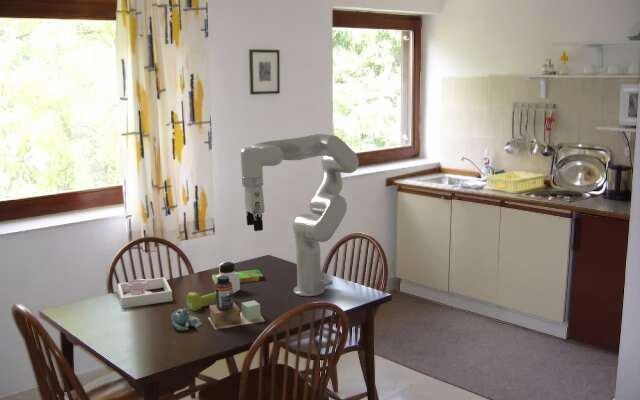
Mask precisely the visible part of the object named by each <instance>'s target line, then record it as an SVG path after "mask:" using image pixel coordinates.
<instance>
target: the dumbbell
mask: <svg viewBox="0 0 640 400" xmlns="http://www.w3.org/2000/svg"><path fill="white" fill-rule="evenodd" d="M185 301H186V305H187V309H188V310H189V311H190V310H191V311H194V312H196V311H197V312H198V311H200V310H202V307H203V305H204V304H208V303H213V302H216V292H215V291H214V292H213V293H211V292H210V293H208V294H205V295H202V296H201V295H200V294H199V293H197V292H195V291H193V292H189V293H187V296H186V299H185Z"/></svg>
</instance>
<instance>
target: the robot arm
mask: <svg viewBox="0 0 640 400" xmlns="http://www.w3.org/2000/svg"><path fill="white" fill-rule="evenodd" d="M316 157H321V167H322V170H323V177H322V181H321V183H320V184H319V186H318V188H317V189H316V191H315V192H314V195H313V196H312V198H311V200H310V202H309V203H308V204H309V205H308V207H309V211H310V212H311V214H310V213H302V214H301V213H300V214H298V215H297V216H296V217H295V218H294V220H293V222H292V232H293V235H294V239H295V251H296V279H297V280H296V281H297V285H296V286H294V287H293V293H294V294H295V295H297V296H302V297H314V296H320V295H322V294H324V293H325V292H326V286H333V280H332V279H329V280H328V279H327V278H326V279H322V271H321V269H322V267H321V246H320V243H326V242H328V241H329V240H331V238H332V237H333V236H334V234H335V233H336V231H337V229H338V227H339V226H340V224H341V223H342V220H343V219H344V217H345V216H346V213H347V205H348V203H347V201H346V198H345V197H343V196H342V195H340V193H341V192H342V189H343V179H342V174H341V173H344V174H351V173H355V172H356V171H357V169H358V167H359V166H360V165H359V164H360V160H359V157H358V154H357V153H355V151H354V150H353V149H351V148H350V147H349V145H348V144H347V143H346V142H344V140H343V139H342V138H340V137H339V136H337V135H335V134H327V133H326V134H323V133H317V134H316V133H315V134H310V135H306V136H305V135H304V136H300V137H295V138H294V137H293V138H285V139H277V140H269V141H263V142H258V143H255V144H253V145H252V146H249V147H243V148H242V149H241V150H240V162H241V164H240V165H241V181H242V183H241V184H242V185H241V186H242V187H244V205H245V210H246V212H245V213H246V225H247V226H253V231H254V232H261V231H263V229H264V226H263V225H264V224H263V222H264V221H263V214H264V213H265V211H266V210H265V199H264V192H263V190H264V189H263V186H264V172H263V171H264V170H263V167H275V166H278V165H280V164H281V162H282V161H302V160H307V159H312V158H316Z"/></svg>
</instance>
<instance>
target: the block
mask: <svg viewBox="0 0 640 400" xmlns="http://www.w3.org/2000/svg"><path fill="white" fill-rule="evenodd" d="M240 306H241V312H242V317H244V318H245V319H247V320H252V319H256V318H261V316H262V314H261V304H260V303H259V302H258V301H256V300H254V299H253V300H249V301H245V302H241V305H240Z"/></svg>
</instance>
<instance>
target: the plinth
mask: <svg viewBox="0 0 640 400" xmlns="http://www.w3.org/2000/svg"><path fill="white" fill-rule="evenodd" d="M208 308H209V317H207V319H208V320H209V323H211V326H212V327H213V328H214V330H219V329H221V330H222V329H226V328H232V327H237V326H239V327H240V326H244V325H249V324H257V323H263V322H266V320H265V319H264V317H263V316H262V315H261V318H256V319H252V320H247V319H245V318H244V317H242V311H241V309H240V308H239V306H238V305H237V304H236V303H235V301H233V307H232V308H230V309H228V310H220V309H218V308H217V306H216V303H215V304H210V305H209V306H208Z"/></svg>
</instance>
